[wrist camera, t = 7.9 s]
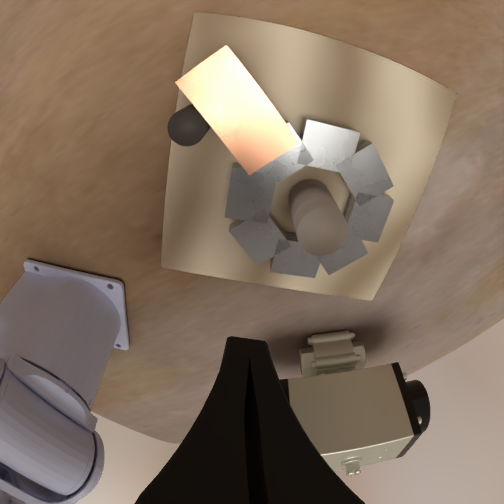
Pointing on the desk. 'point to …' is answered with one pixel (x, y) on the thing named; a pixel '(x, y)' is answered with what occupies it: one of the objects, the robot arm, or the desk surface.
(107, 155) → the desk surface
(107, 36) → the desk surface
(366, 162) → the segmented ring with bar
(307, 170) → the board
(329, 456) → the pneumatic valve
